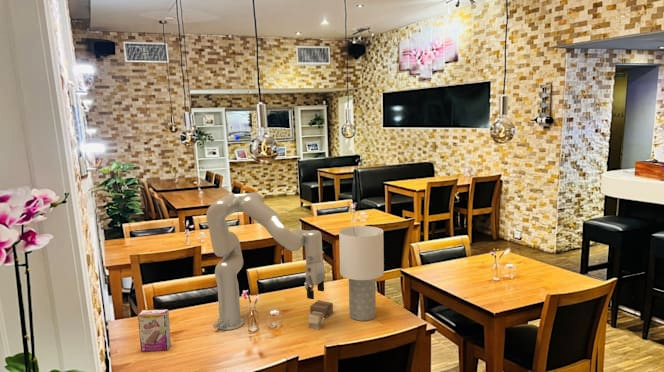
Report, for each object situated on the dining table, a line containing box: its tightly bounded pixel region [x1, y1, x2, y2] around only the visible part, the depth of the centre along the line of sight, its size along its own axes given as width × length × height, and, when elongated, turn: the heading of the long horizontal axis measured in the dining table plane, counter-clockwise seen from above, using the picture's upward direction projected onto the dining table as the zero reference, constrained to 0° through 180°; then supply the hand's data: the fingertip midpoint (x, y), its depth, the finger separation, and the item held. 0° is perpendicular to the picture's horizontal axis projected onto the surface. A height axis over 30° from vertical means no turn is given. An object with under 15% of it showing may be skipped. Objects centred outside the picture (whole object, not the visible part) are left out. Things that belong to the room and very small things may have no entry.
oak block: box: [308, 311, 325, 331], centre depth 204 cm, size 5×5×6 cm
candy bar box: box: [137, 309, 172, 353], centre depth 187 cm, size 11×5×16 cm, turn 92°
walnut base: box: [309, 299, 334, 320], centre depth 218 cm, size 8×8×5 cm
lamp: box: [338, 225, 385, 322], centre depth 212 cm, size 21×21×42 cm
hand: (315, 294), depth 203 cm, fingers open, 9 cm apart
